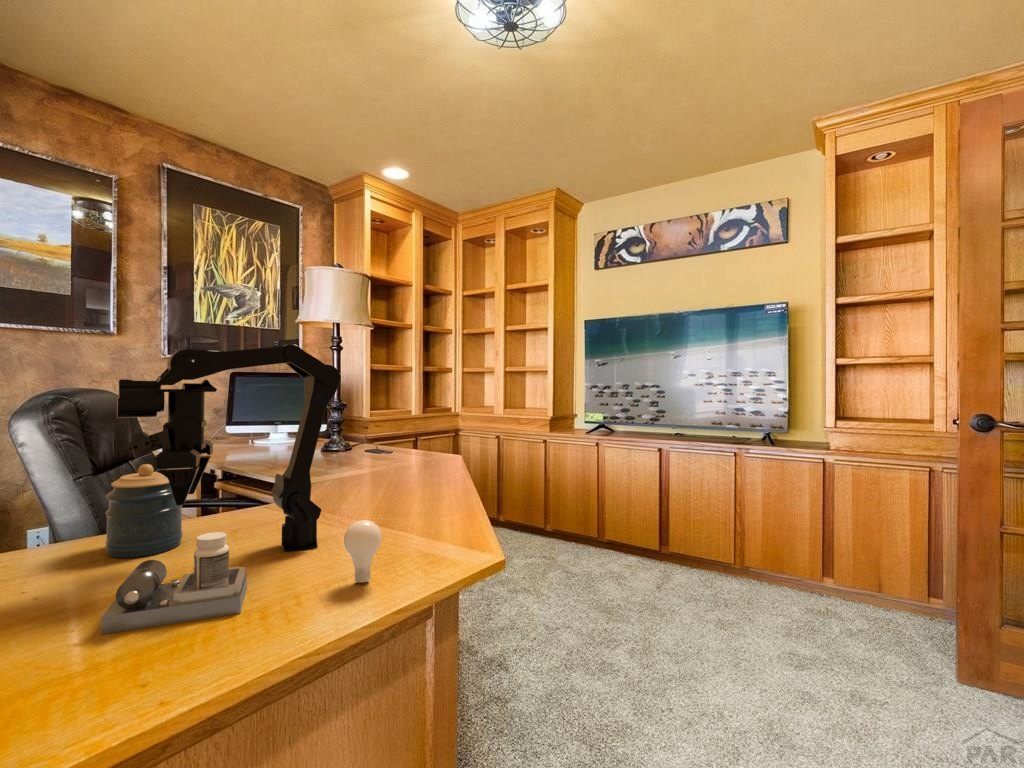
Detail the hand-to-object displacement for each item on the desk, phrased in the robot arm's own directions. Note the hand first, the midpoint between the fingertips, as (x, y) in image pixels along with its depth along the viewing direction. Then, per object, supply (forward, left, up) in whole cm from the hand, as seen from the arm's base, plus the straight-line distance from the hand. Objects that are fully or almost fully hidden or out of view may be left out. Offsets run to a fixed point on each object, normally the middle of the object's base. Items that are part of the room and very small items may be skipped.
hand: (185, 499), depth 92 cm
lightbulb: (-30, +19, -13) cm, 38 cm away
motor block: (-3, +19, -13) cm, 23 cm away
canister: (+10, -16, -13) cm, 23 cm away
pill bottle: (-7, +19, -11) cm, 23 cm away
